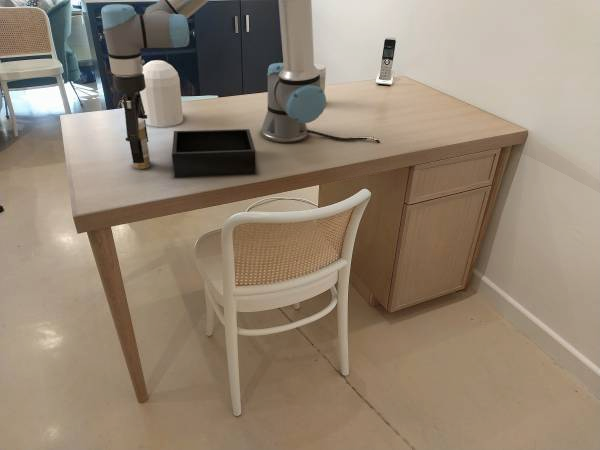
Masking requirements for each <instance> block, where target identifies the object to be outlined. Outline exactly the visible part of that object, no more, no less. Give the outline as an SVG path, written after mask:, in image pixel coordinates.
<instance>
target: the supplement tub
mask: <svg viewBox="0 0 600 450" xmlns="http://www.w3.org/2000/svg"><path fill="white" fill-rule="evenodd" d="M314 66H315V67H316V68H317V69H318V70H319V71H320V88H321V89H322V90H323V91H324V92H325V89H326V77H327V76H326V75H327V71H326V65H324V64H320V63H314Z"/></svg>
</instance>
